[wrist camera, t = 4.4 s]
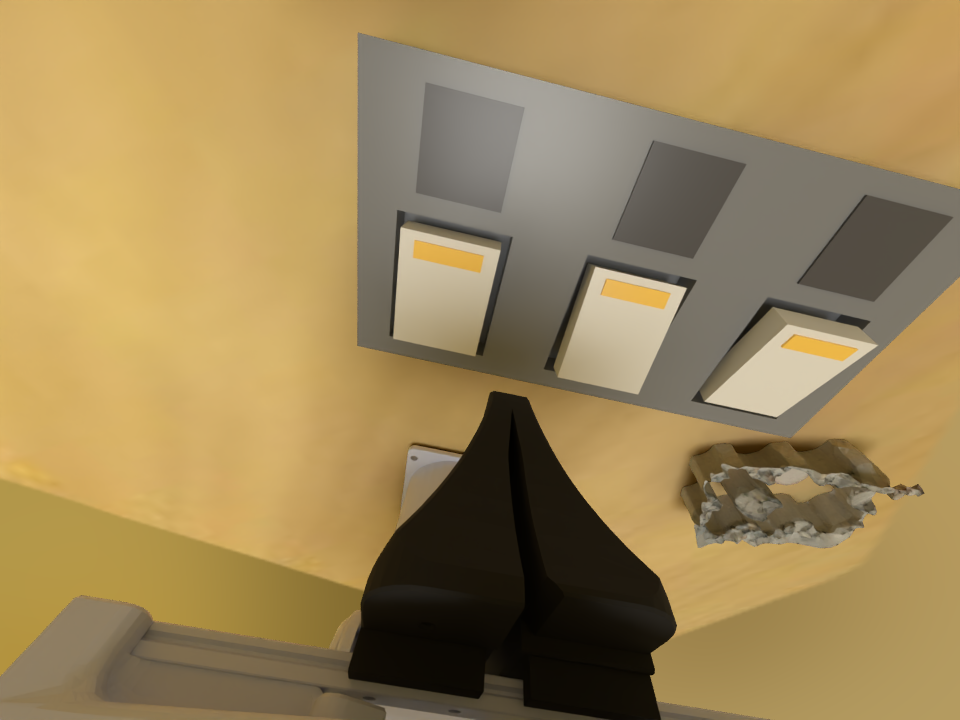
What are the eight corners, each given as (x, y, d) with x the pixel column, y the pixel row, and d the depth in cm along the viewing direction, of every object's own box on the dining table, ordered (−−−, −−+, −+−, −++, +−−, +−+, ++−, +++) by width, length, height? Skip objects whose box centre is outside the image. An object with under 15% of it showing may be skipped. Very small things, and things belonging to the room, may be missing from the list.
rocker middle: (628, 383, 17) (638, 395, 16) (553, 366, 17) (557, 378, 16) (672, 283, 15) (688, 288, 14) (587, 263, 15) (596, 267, 14)
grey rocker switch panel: (764, 409, 21) (791, 439, 19) (372, 325, 19) (356, 346, 17) (959, 198, 14) (1035, 208, 12) (380, 48, 13) (356, 31, 11)
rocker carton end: (765, 399, 18) (777, 418, 17) (696, 384, 18) (705, 403, 17) (858, 326, 15) (880, 347, 14) (772, 306, 15) (788, 326, 14)
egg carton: (873, 433, 21) (942, 489, 18) (818, 504, 25) (866, 562, 22) (694, 434, 22) (727, 488, 19) (669, 503, 27) (692, 557, 23)
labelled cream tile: (477, 343, 17) (475, 357, 16) (400, 326, 17) (392, 339, 16) (501, 242, 14) (500, 251, 13) (408, 220, 14) (399, 227, 13)
